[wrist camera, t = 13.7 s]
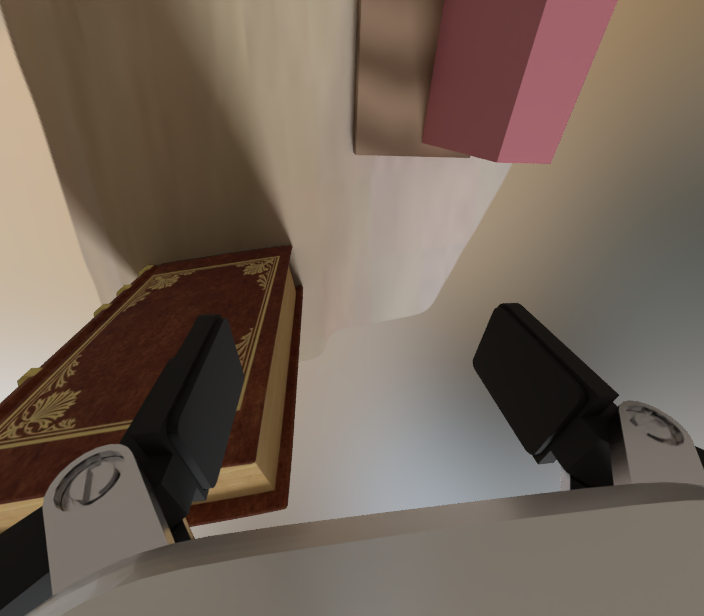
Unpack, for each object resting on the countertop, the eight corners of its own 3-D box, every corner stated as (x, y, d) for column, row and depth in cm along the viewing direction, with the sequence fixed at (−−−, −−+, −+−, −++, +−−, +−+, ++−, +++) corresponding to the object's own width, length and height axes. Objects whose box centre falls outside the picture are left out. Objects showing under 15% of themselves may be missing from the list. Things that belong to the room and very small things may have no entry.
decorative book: (163, 311, 43) (-36, 569, 18) (133, 266, 38) (-188, 534, 14) (303, 289, 43) (289, 512, 19) (291, 242, 38) (251, 459, 14)
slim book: (446, -16, 24) (598, -168, 11) (488, -12, 25) (680, -153, 12) (421, 142, 31) (496, 162, 18) (454, 144, 32) (550, 163, 19)
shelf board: (360, -58, 24) (364, -70, 22) (509, -41, 25) (522, -51, 23) (353, 152, 33) (355, 154, 31) (462, 155, 34) (469, 157, 33)
